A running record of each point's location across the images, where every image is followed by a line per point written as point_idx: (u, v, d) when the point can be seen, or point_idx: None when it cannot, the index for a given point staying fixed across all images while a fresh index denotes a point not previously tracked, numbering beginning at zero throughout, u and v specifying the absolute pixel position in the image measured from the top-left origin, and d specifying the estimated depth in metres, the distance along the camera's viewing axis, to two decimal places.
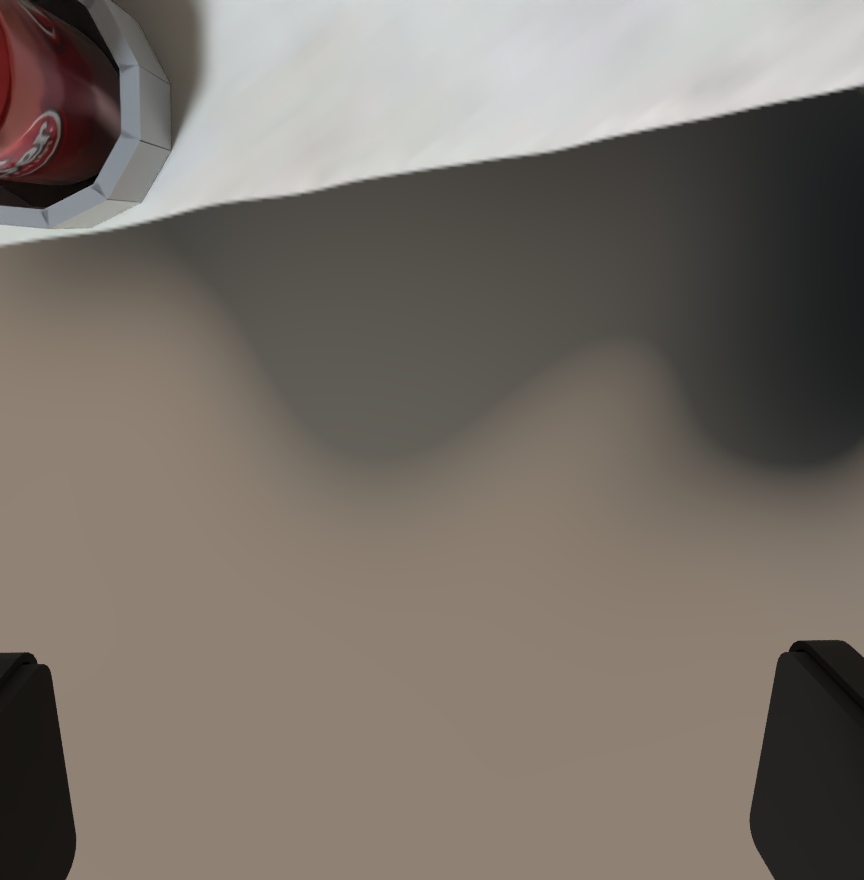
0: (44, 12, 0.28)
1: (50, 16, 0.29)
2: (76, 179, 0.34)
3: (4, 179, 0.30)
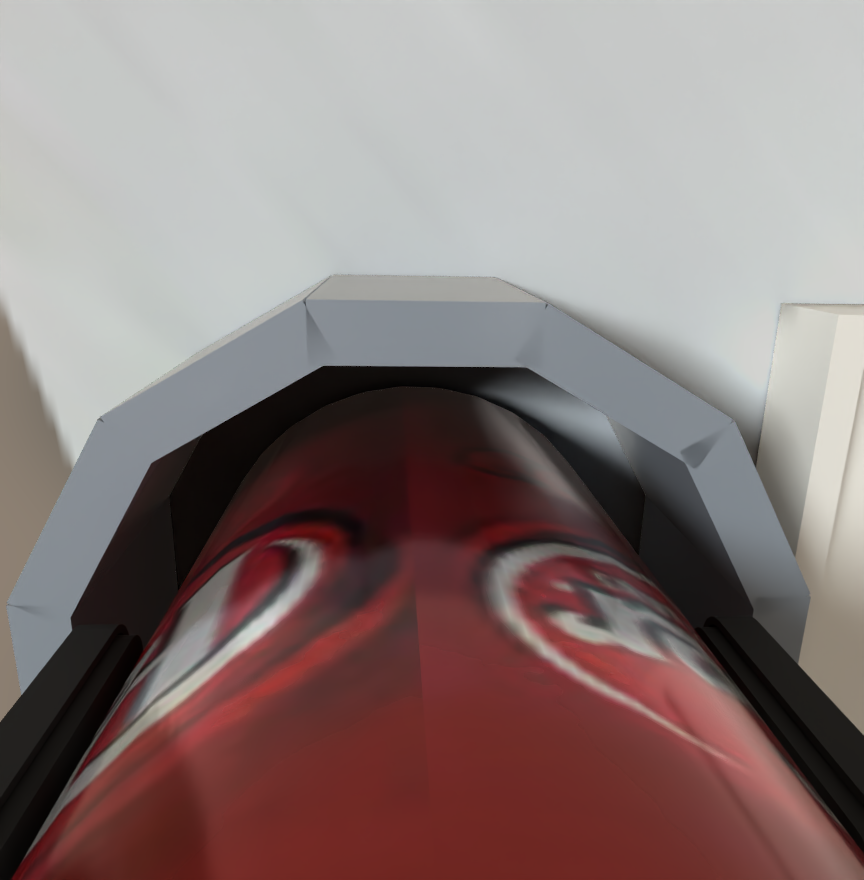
0: None
1: None
2: None
3: None
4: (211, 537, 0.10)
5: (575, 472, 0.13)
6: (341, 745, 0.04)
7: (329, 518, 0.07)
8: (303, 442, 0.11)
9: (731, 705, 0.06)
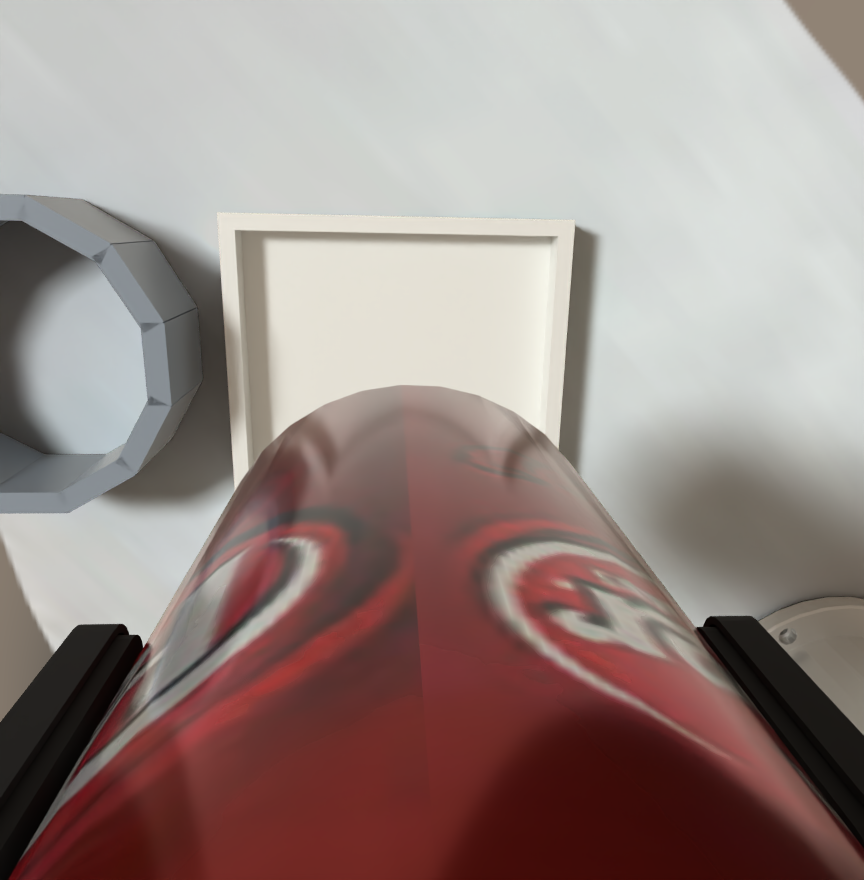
0: None
1: None
2: None
3: None
4: (210, 536, 0.10)
5: (576, 471, 0.13)
6: (342, 744, 0.04)
7: (329, 517, 0.07)
8: (303, 440, 0.11)
9: (734, 704, 0.05)
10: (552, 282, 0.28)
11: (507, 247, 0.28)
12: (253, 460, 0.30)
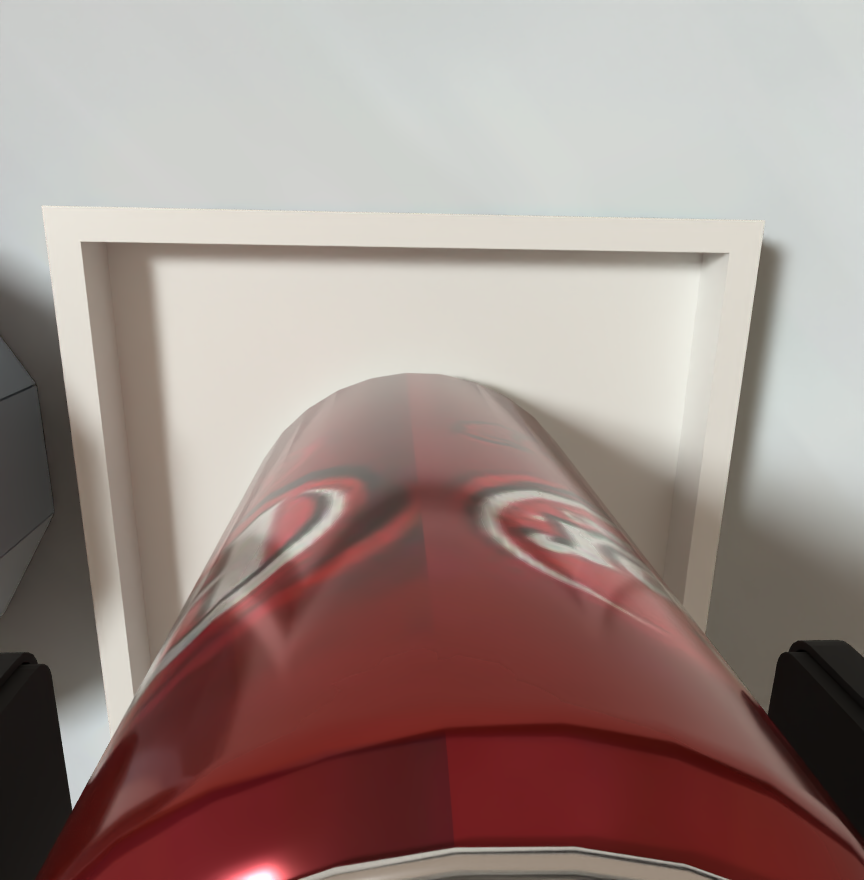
0: None
1: None
2: None
3: None
4: (243, 500, 0.12)
5: None
6: (372, 605, 0.06)
7: (350, 472, 0.09)
8: (321, 419, 0.13)
9: (667, 604, 0.07)
10: (706, 339, 0.15)
11: (619, 273, 0.15)
12: (148, 654, 0.17)
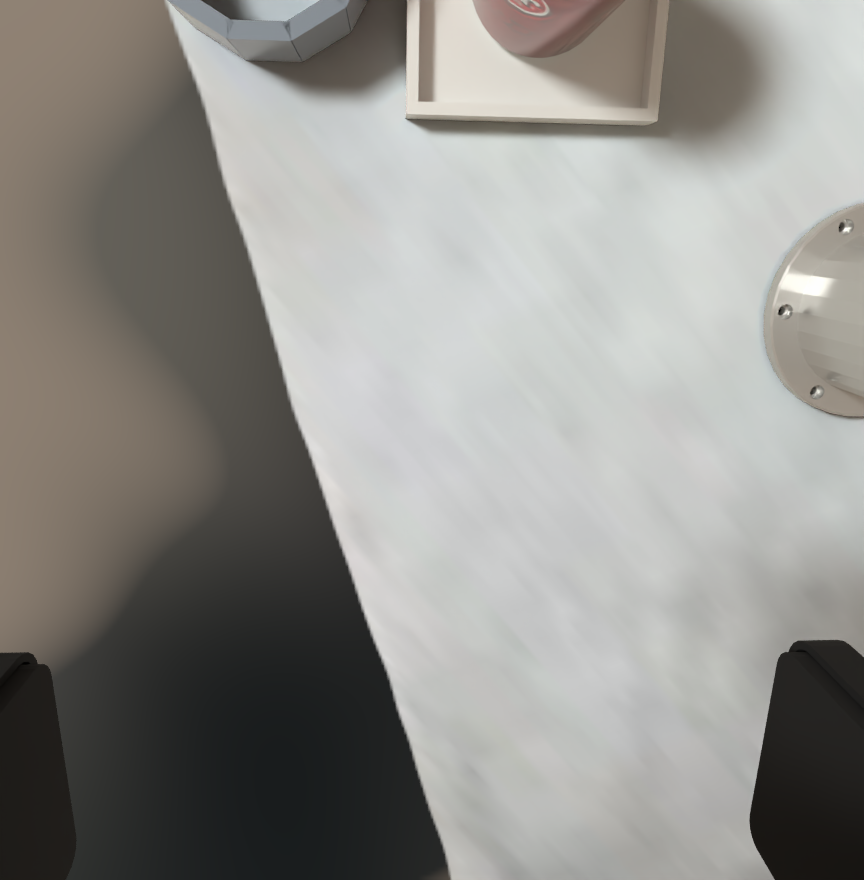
0: None
1: None
2: (477, 5, 0.35)
3: None
4: None
5: None
6: None
7: None
8: None
9: None
10: None
11: None
12: None
